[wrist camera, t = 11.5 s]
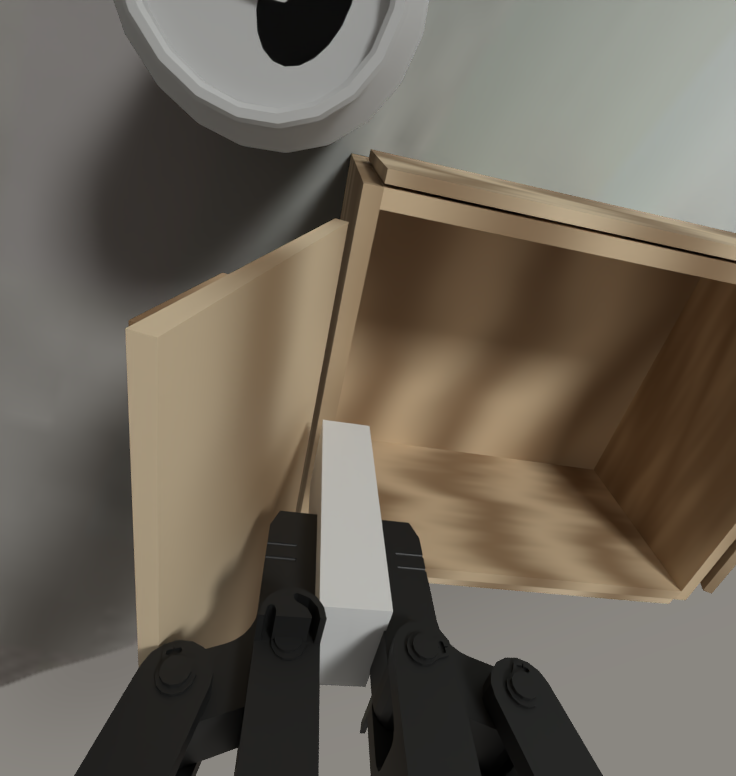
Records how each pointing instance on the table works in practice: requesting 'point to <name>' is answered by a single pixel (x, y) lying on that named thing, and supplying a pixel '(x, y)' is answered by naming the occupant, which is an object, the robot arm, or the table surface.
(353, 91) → the can
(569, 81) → the table surface
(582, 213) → the carton
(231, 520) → the flap left
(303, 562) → the robot arm
